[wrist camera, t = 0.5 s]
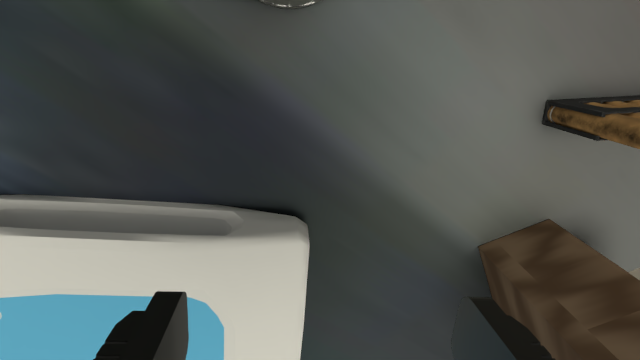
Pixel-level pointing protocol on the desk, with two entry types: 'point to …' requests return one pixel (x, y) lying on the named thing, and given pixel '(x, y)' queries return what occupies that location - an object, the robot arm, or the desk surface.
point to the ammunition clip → (597, 118)
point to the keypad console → (565, 293)
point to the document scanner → (149, 275)
